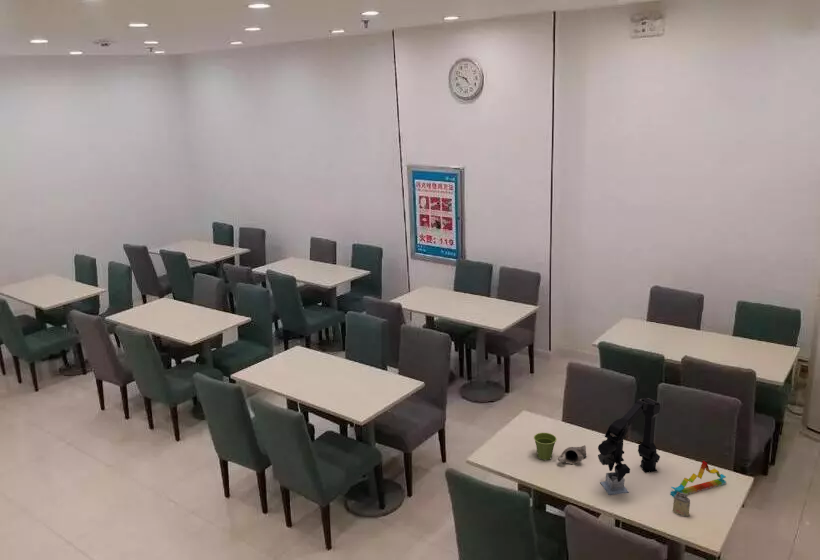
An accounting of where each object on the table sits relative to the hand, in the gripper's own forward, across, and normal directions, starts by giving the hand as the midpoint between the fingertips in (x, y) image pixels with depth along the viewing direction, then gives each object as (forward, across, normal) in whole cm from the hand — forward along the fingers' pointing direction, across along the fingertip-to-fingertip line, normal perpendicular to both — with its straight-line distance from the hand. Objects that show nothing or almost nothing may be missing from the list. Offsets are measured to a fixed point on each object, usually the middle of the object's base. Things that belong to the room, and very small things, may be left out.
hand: (614, 476), depth 316 cm
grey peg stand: (+7, 0, 0) cm, 7 cm away
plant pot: (+7, -33, -24) cm, 41 cm away
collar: (+6, 0, 0) cm, 6 cm away
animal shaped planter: (+7, -27, -10) cm, 30 cm away
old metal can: (+7, +24, +22) cm, 33 cm away
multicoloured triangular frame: (+7, +9, +39) cm, 41 cm away
